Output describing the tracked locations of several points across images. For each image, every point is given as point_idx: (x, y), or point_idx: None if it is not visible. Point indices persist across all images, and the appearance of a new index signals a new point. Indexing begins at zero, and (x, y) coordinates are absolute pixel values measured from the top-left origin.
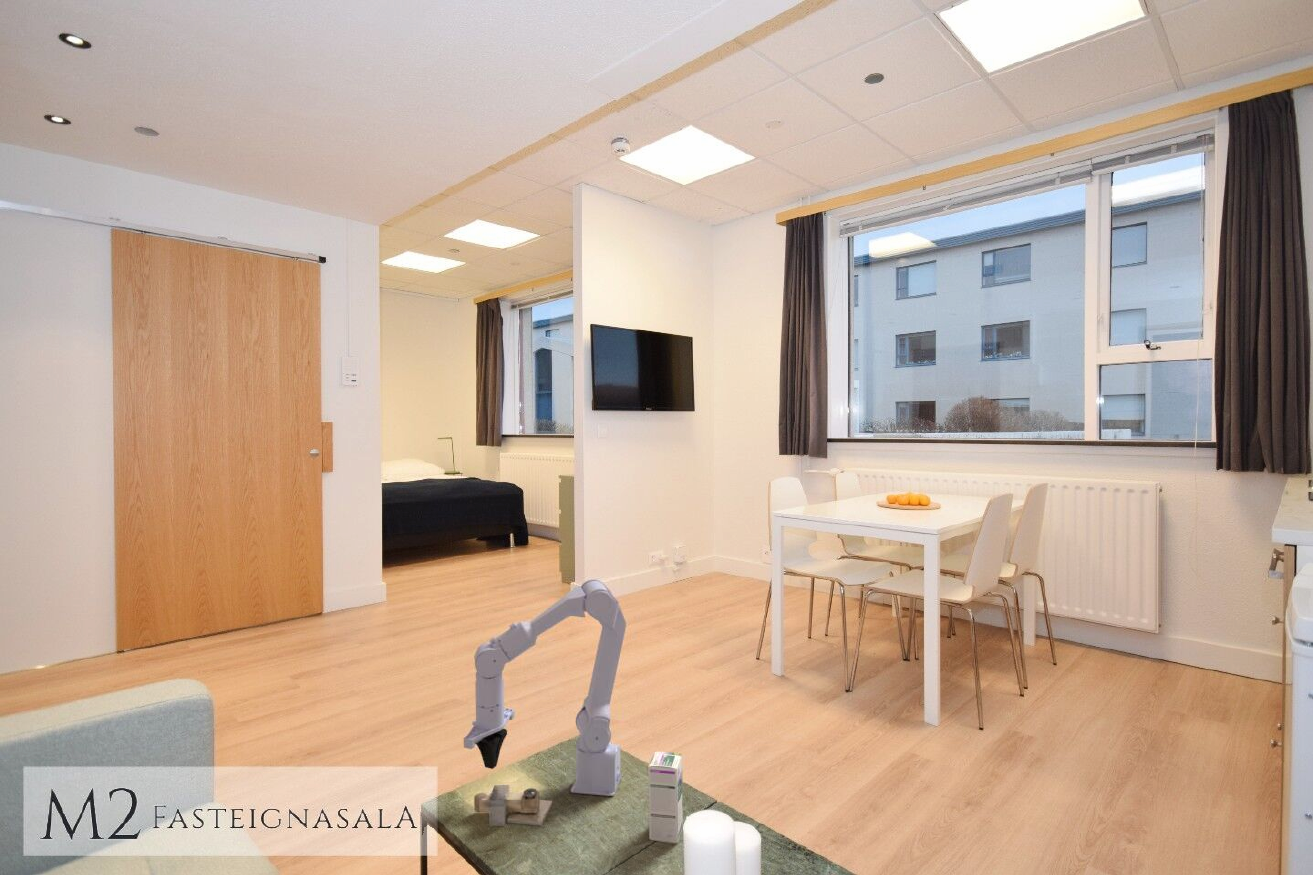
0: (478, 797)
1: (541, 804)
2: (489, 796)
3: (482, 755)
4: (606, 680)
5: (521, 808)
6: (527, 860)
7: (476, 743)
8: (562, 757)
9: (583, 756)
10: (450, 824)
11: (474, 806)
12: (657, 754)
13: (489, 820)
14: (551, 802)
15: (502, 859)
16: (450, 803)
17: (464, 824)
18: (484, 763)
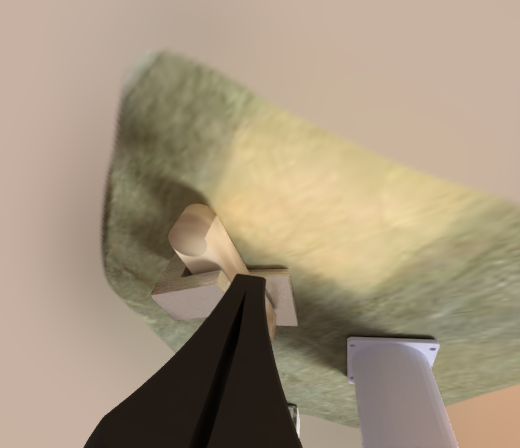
0: (179, 238)
1: (279, 313)
2: (200, 261)
3: (209, 318)
4: None
5: None
6: (150, 319)
7: (136, 394)
8: None
9: (365, 444)
10: (128, 158)
11: (182, 213)
12: None
13: (174, 255)
14: (292, 325)
15: (128, 293)
16: (202, 86)
17: (151, 193)
18: (229, 286)
